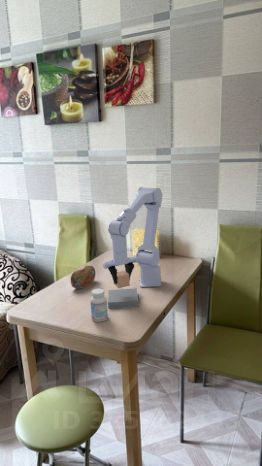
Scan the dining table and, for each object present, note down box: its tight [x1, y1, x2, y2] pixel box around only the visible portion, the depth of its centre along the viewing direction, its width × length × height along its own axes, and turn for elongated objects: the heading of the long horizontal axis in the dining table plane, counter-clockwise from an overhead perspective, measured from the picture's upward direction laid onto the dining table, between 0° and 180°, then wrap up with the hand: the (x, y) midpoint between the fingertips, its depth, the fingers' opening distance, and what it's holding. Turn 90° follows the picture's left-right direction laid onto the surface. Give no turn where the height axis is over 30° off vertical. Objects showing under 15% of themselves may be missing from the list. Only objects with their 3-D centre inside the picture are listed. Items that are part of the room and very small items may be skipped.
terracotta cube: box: [113, 270, 131, 289], centre depth 145 cm, size 5×5×5 cm
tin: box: [70, 265, 96, 290], centre depth 164 cm, size 15×3×8 cm, turn 147°
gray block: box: [107, 287, 139, 309], centre depth 147 cm, size 12×12×3 cm
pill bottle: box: [89, 288, 109, 323], centre depth 132 cm, size 6×6×11 cm
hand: (121, 281), depth 145 cm, fingers closed on terracotta cube, 5 cm apart
